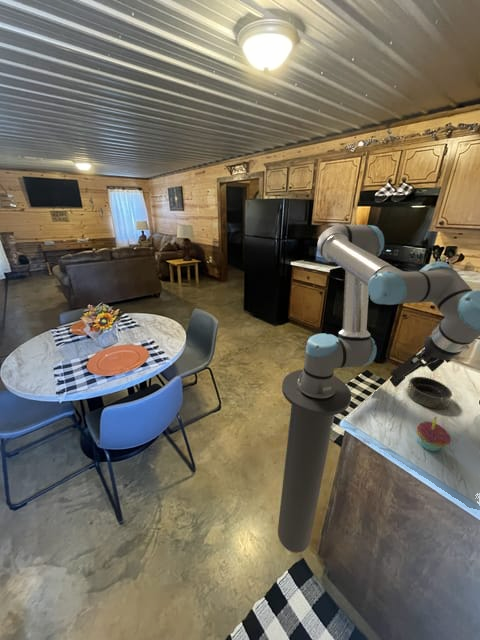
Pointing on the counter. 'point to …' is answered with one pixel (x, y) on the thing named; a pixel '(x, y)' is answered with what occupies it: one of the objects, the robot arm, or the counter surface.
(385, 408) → the counter surface
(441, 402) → the dark round bowl
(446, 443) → the cupcake
